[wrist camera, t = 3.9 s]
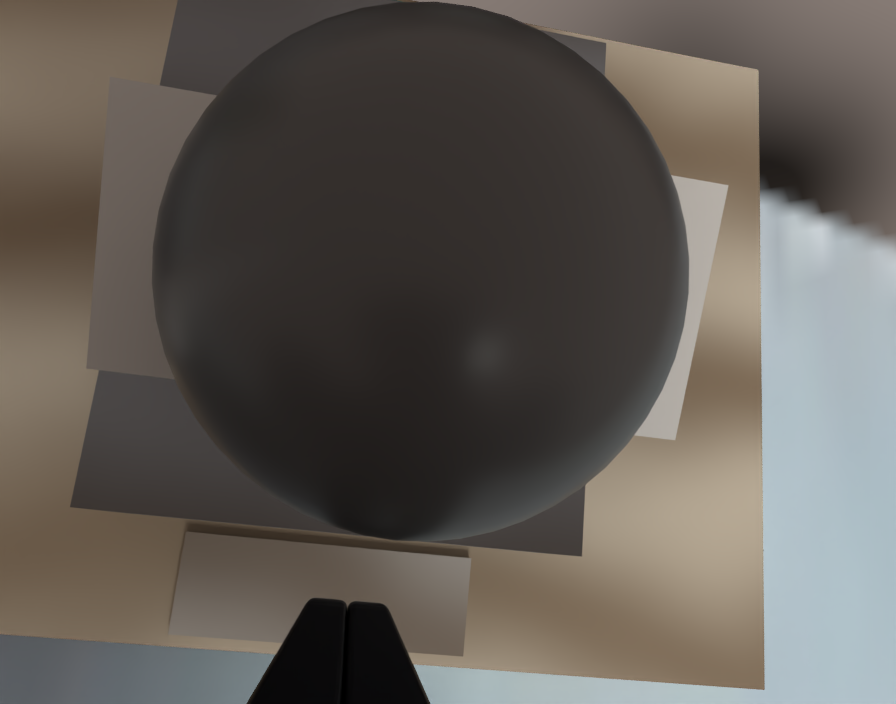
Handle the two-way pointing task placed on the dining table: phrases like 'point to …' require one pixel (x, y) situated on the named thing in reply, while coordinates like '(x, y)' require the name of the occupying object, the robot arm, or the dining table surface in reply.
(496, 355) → the lever
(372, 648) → the robot arm
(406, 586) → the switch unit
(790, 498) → the dining table surface
